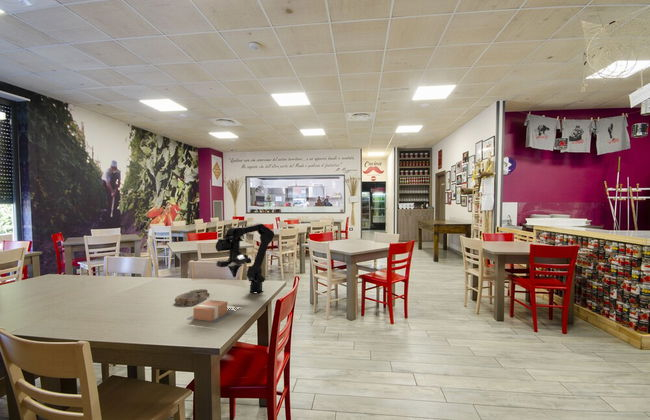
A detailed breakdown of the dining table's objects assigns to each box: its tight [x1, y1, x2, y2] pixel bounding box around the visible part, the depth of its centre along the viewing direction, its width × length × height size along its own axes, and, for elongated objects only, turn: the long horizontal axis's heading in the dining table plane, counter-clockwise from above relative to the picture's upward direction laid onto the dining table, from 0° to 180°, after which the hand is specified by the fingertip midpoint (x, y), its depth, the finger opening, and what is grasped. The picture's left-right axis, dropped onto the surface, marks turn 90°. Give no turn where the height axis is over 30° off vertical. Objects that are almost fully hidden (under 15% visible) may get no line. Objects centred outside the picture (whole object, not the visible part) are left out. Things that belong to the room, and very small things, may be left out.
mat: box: [186, 305, 242, 324], centre depth 139 cm, size 22×16×1 cm
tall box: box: [192, 299, 228, 321], centre depth 135 cm, size 5×10×12 cm
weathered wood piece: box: [174, 288, 210, 307], centre depth 160 cm, size 14×5×20 cm
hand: (234, 277), depth 163 cm, fingers closed
